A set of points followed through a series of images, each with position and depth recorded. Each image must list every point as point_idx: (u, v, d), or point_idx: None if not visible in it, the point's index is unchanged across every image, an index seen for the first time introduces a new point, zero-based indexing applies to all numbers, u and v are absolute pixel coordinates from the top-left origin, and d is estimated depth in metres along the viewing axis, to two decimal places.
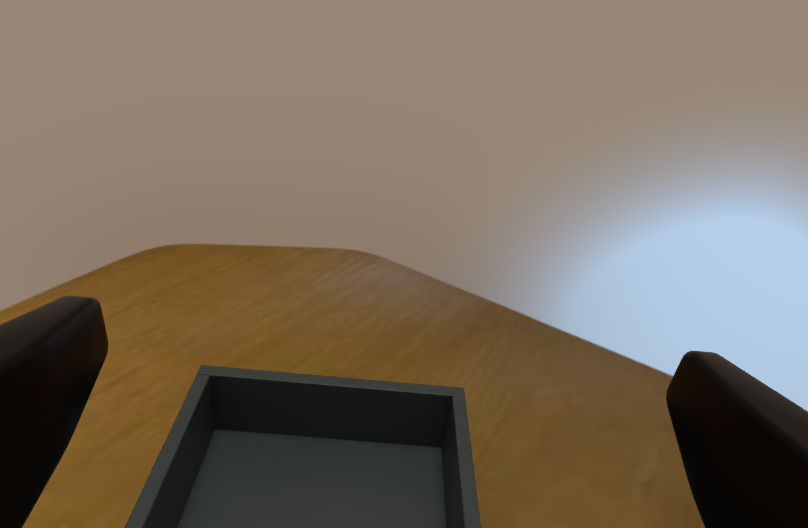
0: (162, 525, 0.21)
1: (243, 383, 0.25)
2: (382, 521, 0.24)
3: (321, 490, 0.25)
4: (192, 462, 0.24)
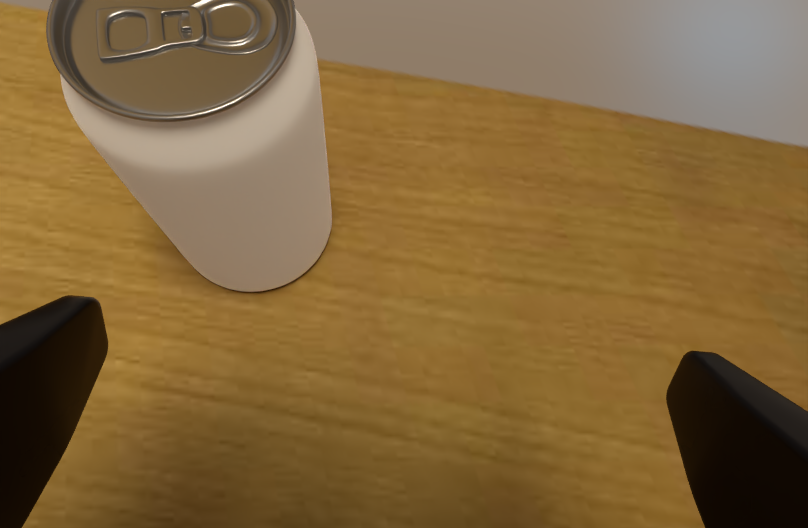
0: None
1: None
2: None
3: None
4: None
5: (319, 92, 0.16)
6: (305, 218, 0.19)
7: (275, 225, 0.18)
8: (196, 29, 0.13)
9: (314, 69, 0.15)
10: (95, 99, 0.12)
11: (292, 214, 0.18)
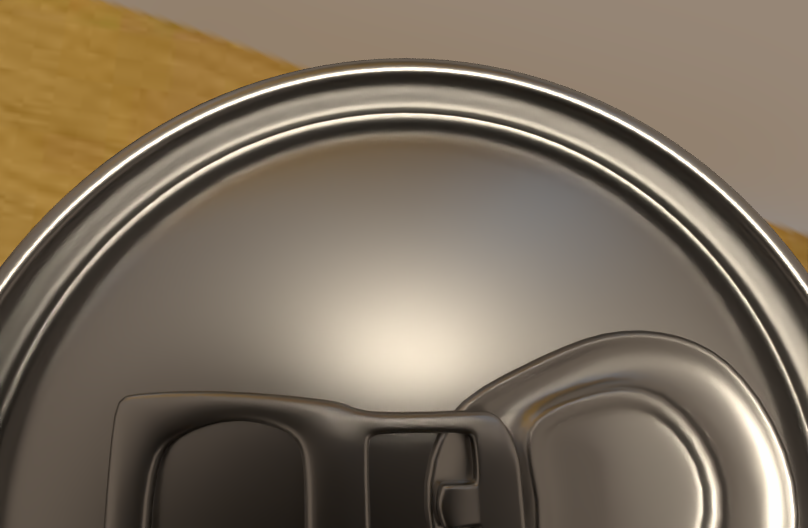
0: None
1: None
2: None
3: None
4: None
5: None
6: None
7: None
8: None
9: None
10: None
11: None
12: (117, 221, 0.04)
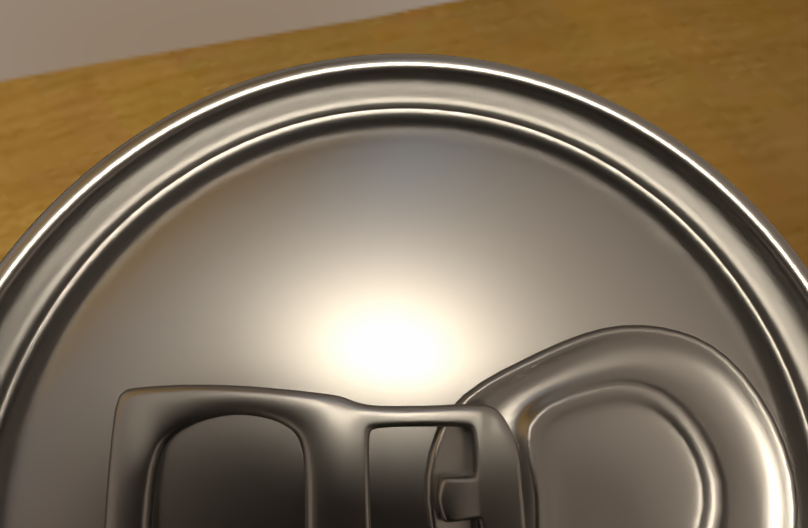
0: None
1: None
2: None
3: None
4: None
5: None
6: None
7: None
8: None
9: None
10: None
11: None
12: (118, 216, 0.04)
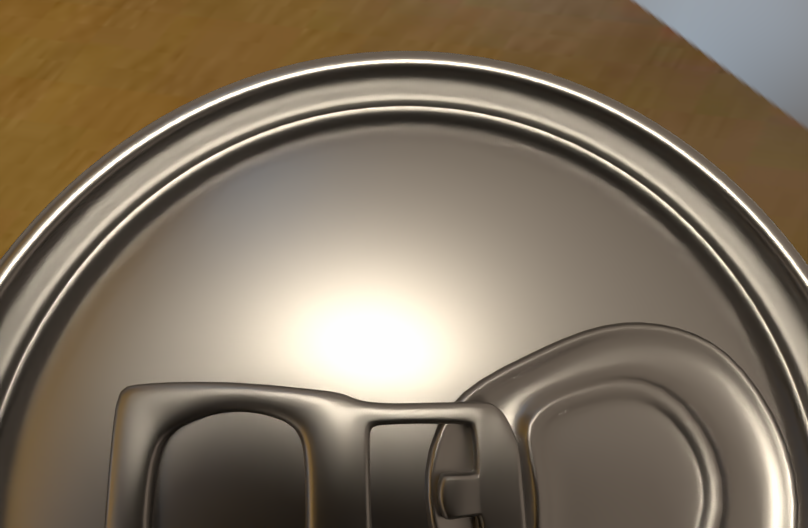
0: None
1: None
2: None
3: None
4: None
5: None
6: None
7: None
8: None
9: None
10: None
11: None
12: (118, 213, 0.04)
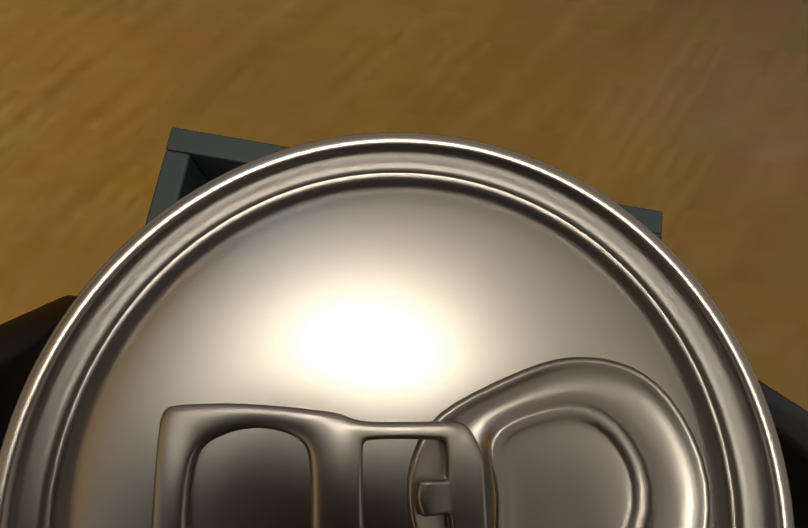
0: None
1: None
2: None
3: None
4: None
5: None
6: None
7: None
8: None
9: None
10: None
11: None
12: (160, 263, 0.04)
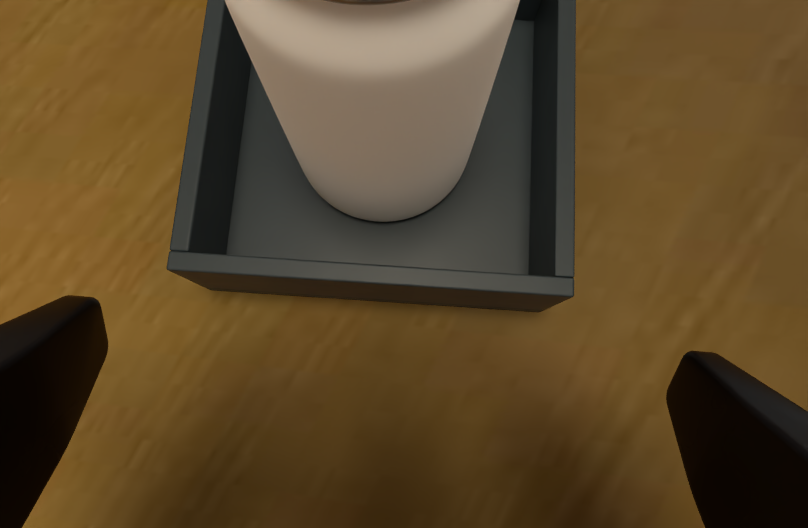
0: (226, 128, 0.19)
1: None
2: None
3: None
4: (241, 52, 0.21)
5: None
6: (463, 142, 0.16)
7: (435, 149, 0.15)
8: None
9: None
10: None
11: (456, 136, 0.15)
12: None
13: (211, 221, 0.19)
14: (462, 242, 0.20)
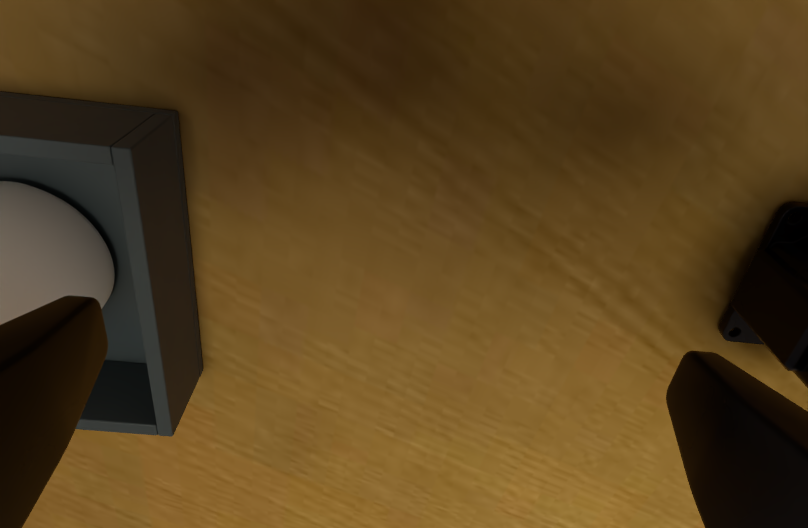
0: None
1: None
2: None
3: None
4: None
5: None
6: None
7: None
8: None
9: None
10: None
11: None
12: None
13: (137, 394, 0.24)
14: (117, 188, 0.21)
